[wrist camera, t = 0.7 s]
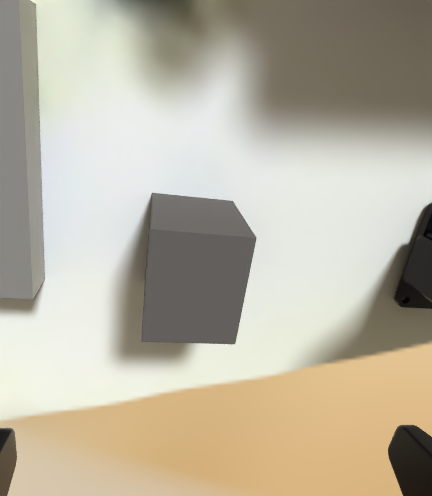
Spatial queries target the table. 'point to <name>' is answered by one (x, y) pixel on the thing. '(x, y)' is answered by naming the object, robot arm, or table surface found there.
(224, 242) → the block
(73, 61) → the table surface
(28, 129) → the socket
